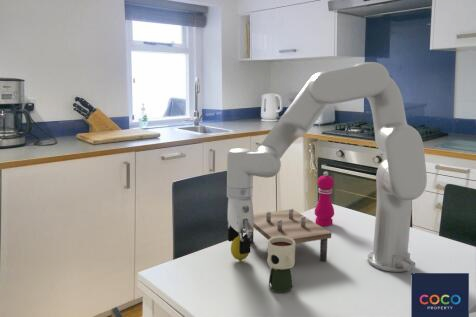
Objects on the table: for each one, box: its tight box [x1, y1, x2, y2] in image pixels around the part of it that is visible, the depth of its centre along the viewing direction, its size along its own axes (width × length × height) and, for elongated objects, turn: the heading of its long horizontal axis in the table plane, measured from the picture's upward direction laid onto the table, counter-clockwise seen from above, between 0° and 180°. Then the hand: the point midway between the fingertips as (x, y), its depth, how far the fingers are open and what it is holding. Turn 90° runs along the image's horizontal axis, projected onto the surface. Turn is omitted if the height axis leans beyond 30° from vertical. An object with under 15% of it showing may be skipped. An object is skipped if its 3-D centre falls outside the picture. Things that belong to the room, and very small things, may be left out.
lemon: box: [230, 235, 250, 262], centre depth 126 cm, size 6×6×8 cm
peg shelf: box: [251, 208, 332, 263], centre depth 133 cm, size 24×18×12 cm
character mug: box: [266, 237, 296, 293], centre depth 110 cm, size 11×7×13 cm, turn 25°
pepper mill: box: [314, 171, 335, 227], centre depth 157 cm, size 7×7×20 cm
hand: (238, 246), depth 126 cm, fingers open, 9 cm apart
